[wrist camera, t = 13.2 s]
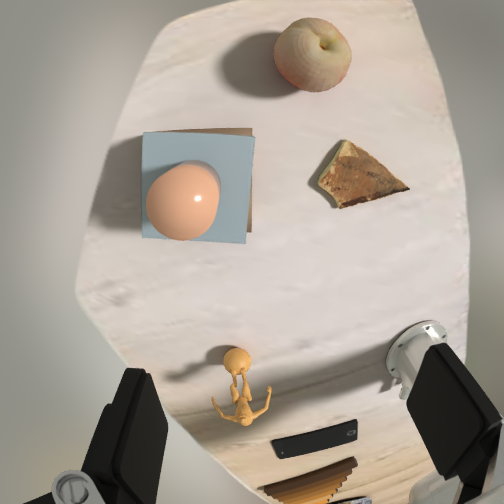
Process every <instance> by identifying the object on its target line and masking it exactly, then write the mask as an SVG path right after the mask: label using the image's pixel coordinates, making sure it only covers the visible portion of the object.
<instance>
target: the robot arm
mask: <svg viewBox="0 0 504 504" xmlns="http://www.w3.org/2000/svg"><path fill="white" fill-rule="evenodd" d="M447 338H448V336H447V331H446V329H445V328H444V327H443V325H441V324H440V323H439V322H436V321H425V322H422V323H419V324H417V325H415V326H413V327H411V328H410V329H408V330H407V331H405V332H404V333H403V334H402V335H401V336H400V337H399V338H398V339H397V340H396V341H395V342H394V344H393V345H392V347H391V348H390V350H389V352H388V355H387V359H386V366H387V369H388V371H389V373H390V374H391V375H392V376H393V377H395V378H399V379H401V380H402V386H403V387H402V388H401V391H400V393H399V398H400V399H403V400H405V399H407V398H408V399H407V409H408V411H409V413H410V415H411V417H412V419H413V421H414V423H415V425H416V427H417V429H418V431H419V433H420V435H421V437H422V439H423V441H424V444H425V446H426V448H427V450H428V452H429V454H430V456H431V458H432V461H433V463H434V465H435V467H436V470H434V471H433V472H431V473H430V474H428V475H427V476H425V477H424V478H422V479H421V480H419V481H418V482H417V483H416V484H415V485H414V486H413V487H412V489H411V490H410V493H409V503H410V504H504V418H503V417H502V416H501V415H500V413H499V412H498V411H497V409H496V408H495V406H494V405H493V404H492V402H491V401H490V399H489V398H488V397H487V396H486V394H485V392H484V391H483V390H482V389H481V387H480V386H479V384H478V383H477V382H476V380H475V379H474V378H473V376H472V375H471V374H470V372H469V371H468V370H467V368H466V367H465V366H464V364H463V363H462V362H461V361H460V359H459V358H458V357H457V355H456V354H455V353H454V352H453V350H452V349H451V348H450V347H449V345H448V344H447ZM409 393H410V394H409ZM167 433H168V422H167V419H166V417H165V414H164V411H163V409H162V406H161V403H160V400H159V397H158V395H157V392H156V389H155V386H154V383H153V380H152V377H151V374H150V373H146V372H145V370H144V369H139V368H127V369H126V370H125V372H124V374H123V377H122V379H121V382H120V384H119V387H118V389H117V392H116V394H115V397H114V400H113V402H112V404H107V405H106V406H105V407H104V409H103V412H102V414H101V417H100V419H99V422H98V425H97V427H96V430H95V433H94V435H93V438H92V441H91V443H90V446H89V449H88V452H87V454H86V457H85V460H84V463H83V466H82V469H81V471H78V470H68V471H64V472H62V473H60V474H59V475H58V476H57V477H56V478H55V479H54V482H53V484H52V492H50V493H48V494H46V495H43V496H41V497H39V498H36V499H34V500H32V501H29V502H26V503H24V504H155V503H156V497H157V491H158V484H159V479H160V473H161V467H162V461H163V456H164V450H165V445H166V439H167Z"/></svg>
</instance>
